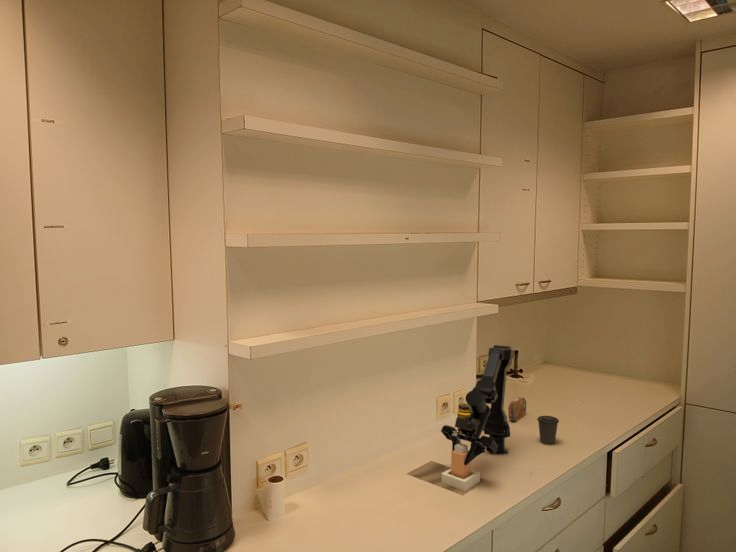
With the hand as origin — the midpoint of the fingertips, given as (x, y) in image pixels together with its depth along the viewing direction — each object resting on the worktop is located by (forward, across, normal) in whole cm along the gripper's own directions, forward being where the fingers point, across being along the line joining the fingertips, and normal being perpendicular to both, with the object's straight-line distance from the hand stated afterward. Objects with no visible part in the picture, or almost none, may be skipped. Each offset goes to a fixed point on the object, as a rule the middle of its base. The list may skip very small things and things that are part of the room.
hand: (458, 462), depth 171 cm
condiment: (-23, -24, +36) cm, 49 cm away
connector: (+3, 0, +5) cm, 6 cm away
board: (+5, -6, +7) cm, 10 cm away
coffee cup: (-33, +5, +45) cm, 56 cm away
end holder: (+4, 0, +6) cm, 7 cm away
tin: (-45, -17, +58) cm, 75 cm away
